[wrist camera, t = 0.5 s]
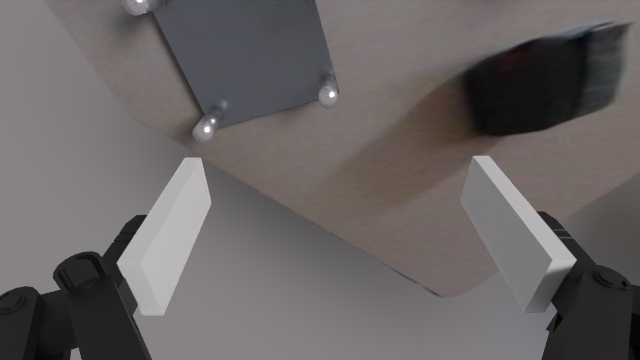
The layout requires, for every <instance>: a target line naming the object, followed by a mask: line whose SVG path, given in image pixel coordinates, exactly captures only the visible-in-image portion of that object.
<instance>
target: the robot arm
mask: <svg viewBox="0 0 640 360" xmlns="http://www.w3.org/2000/svg"><path fill="white" fill-rule="evenodd" d="M460 202H461V204H462V206H463V208H464V209H465V211H466V213H467V215H468V216H469V218H470V220H471V222H472V223H473V225H474V227H475V229H476V230H477V232H478V234H479V236H480V237H481V239H482V241H483V242H484V244H485V246H486V248H487V249H488V251H489V253H490V255H491V256H492V258H493V260H494V262H495V263H496V265H497V267H498V269H499V270H500V272H501V274H502V276H503V277H504V279H505V281H506V283H507V284H508V286H509V288H510V289H511V291H512V293H513V294H514V296H515V298H516V300H517V302H518V303H519V305H520V307H521V309H522V310H523V312H525V313H526V312H528V313H531V312H532V313H537V312H545V311H546V309H547V308H548V306H549V304H550V303H551V302H552V303H553V305H554V306H555V308H556V309H557V313H556V314H555V316H554V318H553V319H552V321H551V322H550V324H549V325H548V327H547V329H546V330H548V331H550V332H549V335H548V339H547V342H546V346H545V349H544V353H543V356H542V360H640V286H636V285H632V284H630V282H629V281H628V280H627V279H626V278H625V277H624V276H622V275H621V274H620V273H618V272H616V271H614V270H612V269H610V268H607V267H604V266H601V265H596V263H595V262H594V261H593V260H592V259H591V258H590V257H589V256H588V255H587V253H586V252H585V251H584V250H583V249H582V248H581V247H580V246H579V245H578V243H577V242H576V241H575V240H574V239H572V238H571V236H570V235H569V233H568V232H567V231H565V229H564V228H563V227H562V226H561V224H560V223H559V222H558V221H557V220H556V219H554V218H553V217H551V216H550V215H548V214H547V213H545V212H536V211H535V210H534V209H533V208H532V206H531V205H530V204H529V203H528V202H527V200H526V199H525V198H524V197H523V196H522V195H521V193H520V192H519V191H518V190H517V189H516V187H515V186H514V185H513V184H512V183H511V182H510V180H509V179H508V178H507V177H506V176H505V174H504V173H503V172H502V171H501V170H500V169H499V167H498V166H497V165H496V164H495V163H494V161H493V160H492V159H491V158H490V157H489V156H473V158H472V161H471V165H470V168H469V171H468V175H467V178H466V182H465V185H464V189H463V192H462V196H461V199H460ZM210 205H211V199H210V195H209V191H208V186H207V182H206V178H205V174H204V169H203V165H202V160H201V158H184V160H183V162H182V163H181V165H180V166H179V168H178V169H177V171H176V172H175V174H174V176H173V177H172V178H171V180H170V182H169V183H168V185H167V186H166V188H165V189H164V191H163V192H162V194H161V195H160V197H159V199H158V200H157V201H156V203H155V205H154V206H153V208H152V209H151V211H150V212H149V214H148V215H136V216H135V217H134V218H133V219H131V220H130V221H129V222H127V223H126V224H125V226H124V227H123V229H122V230H121V231H120V234H119V235H118V236H117V237H116V238H115V240H114V242H113V243H112V244H111V245H110V247H109V248H108V250H107V251H106V253H105V254H104V255H103V257H101V256H100V255H99V254H98V253H96V252H91V251H90V252H82V253H79V254H75V255H73V256H71V257H69V258H67V259H65V261H63V262H62V263H61V264H59V265H58V266H57V268H56V269H55V271H54V273H53V279H54V280H55V281H56V283H57V285H58V286H59V288H60V289H61V290H57V291H54V292H50V293H46V294H42V295H40V294H39V293H38V291H37V290H36V289H34V288H33V287H27V286H24V287H19V288H15V289H13V290H10V291H8V292H6V293H4V294H2V295H1V296H0V360H70V355H71V349H75V348H78V347H79V351H80V355H81V358H82V360H152V359H151V356H150V354H149V352H148V349H147V347H146V345H145V342H144V340H143V338H142V336H141V333H140V331H139V329H138V326H137V324H136V322H135V320H134V318H133V314H134V312H135V310H136V308H137V306H138V307H139V309H140V311H141V313H142V315H164V313H165V311H166V308H167V306H168V304H169V301H170V299H171V297H172V294H173V292H174V290H175V287H176V285H177V282H178V280H179V278H180V275H181V273H182V271H183V268H184V266H185V264H186V261H187V259H188V257H189V254H190V252H191V250H192V247H193V245H194V242H195V240H196V238H197V236H198V233H199V231H200V228H201V226H202V224H203V221H204V219H205V217H206V214H207V212H208V210H209V207H210Z"/></svg>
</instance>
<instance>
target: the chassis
mask: <svg viewBox="0 0 640 360" xmlns="http://www.w3.org/2000/svg"><path fill="white" fill-rule="evenodd" d="M120 2H121V5H122V7H123V8H124V10H125V11H126V12H127V13H129V14H131V15H134V16H138V15H141V14H145V13H148V12H151V11H152V12H153V14H154V16H155V18H156V20H157V21H158V23H159V25H160V27H161V29H162V31H163V33H164V35H165V37H166V39H167V41H168V43H169V45H170V47H171V49H172V51H173V53H174V55H175V57H176V59H177V61H178V63H179V65H180V67H181V69H182V71H183V73H184V75H185V77H186V79H187V81H188V83H189V85H190V87H191V89H192V91H193V93H194V95H195V97H196V98H197V100H198V102H199V104H200V106H201V108H202V110H203V112H204V116H203V117H202V118H201V120H200V121H199V122H198V124H197V125H196V127H195V128H194V129H193V132H192V133H193V137H194V138H195V139H196V140H197V141H198V142H201V143H207V142H209V141H210V140H211V138H212V136H213V135H214V133H215V131H216V130H217V128H220V127H223V126H227V125H230V124H234V123H237V122H241V121H245V120H248V119H252V118H255V117H259V116H262V115H266V114H269V113H273V112H277V111H280V110H284V109H287V108H291V107H294V106H298V105H302V104H305V103H309V102H312V101H316V100H319V103H320V105H321V106H322V107H324V108H327V109H330V108H333V107H335V106H336V105H337V103H338V94H339V90H338V86H337V82H336V78H335V74H334V71H333V67H332V63H331V59H330V55H329V52H328V48H327V44H326V40H325V36H324V33H323V29H322V25H321V21H320V17H319V14H318V10H317V6H316V2H315V0H120Z"/></svg>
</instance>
